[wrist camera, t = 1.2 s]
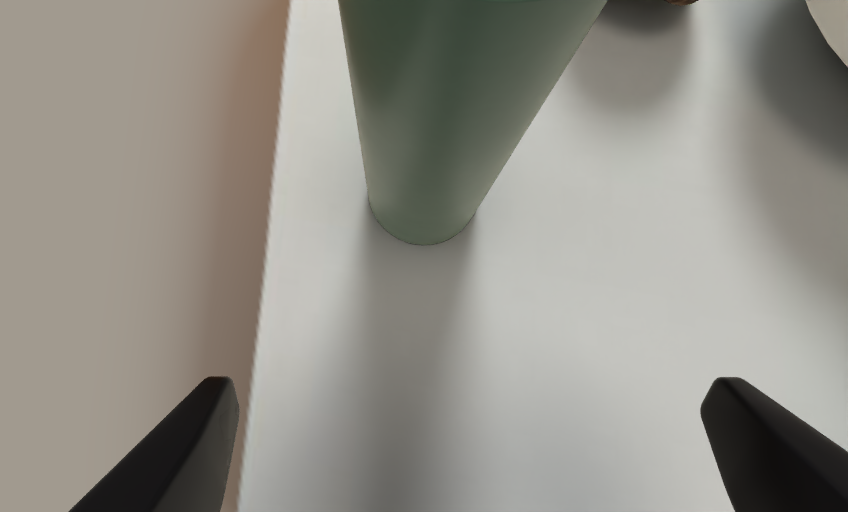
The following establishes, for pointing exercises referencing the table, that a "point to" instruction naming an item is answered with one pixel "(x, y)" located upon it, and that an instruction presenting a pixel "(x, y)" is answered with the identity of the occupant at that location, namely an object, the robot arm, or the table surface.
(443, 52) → the cylinder
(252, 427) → the table surface
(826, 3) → the bowl
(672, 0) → the mushroom
